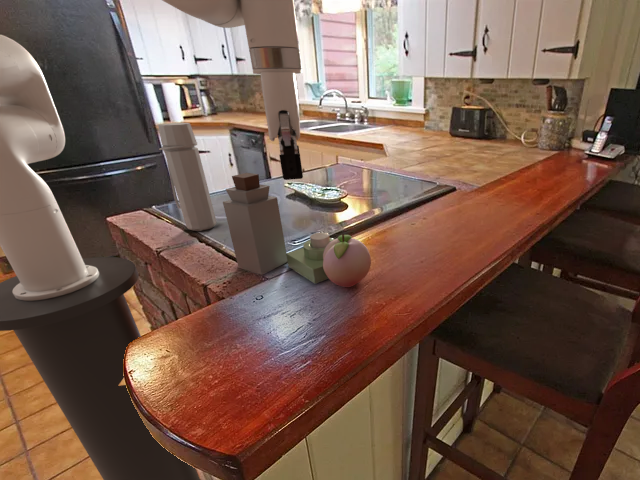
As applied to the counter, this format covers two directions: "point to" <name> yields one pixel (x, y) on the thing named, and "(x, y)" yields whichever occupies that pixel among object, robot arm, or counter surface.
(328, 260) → the decorative fruit
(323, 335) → the counter surface
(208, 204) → the water bottle
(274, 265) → the perfume bottle
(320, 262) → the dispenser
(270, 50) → the robot arm
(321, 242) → the beige button cap
